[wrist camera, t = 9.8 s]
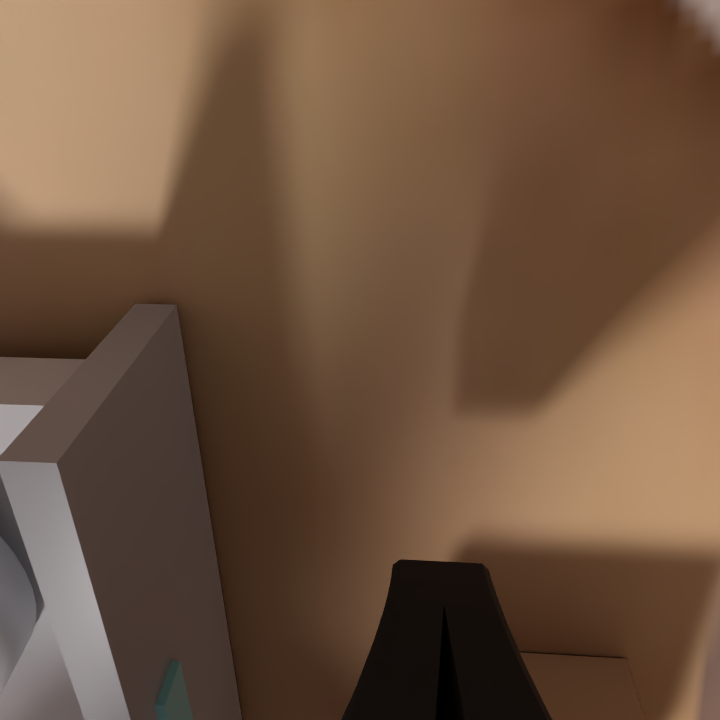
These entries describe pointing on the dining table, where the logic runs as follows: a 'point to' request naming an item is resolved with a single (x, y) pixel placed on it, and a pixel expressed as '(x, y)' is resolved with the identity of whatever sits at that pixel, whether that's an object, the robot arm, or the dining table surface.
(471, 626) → the robot arm
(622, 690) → the pedestal
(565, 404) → the dining table surface
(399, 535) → the dining table surface
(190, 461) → the grey shallow open box
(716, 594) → the dining table surface
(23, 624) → the disc
